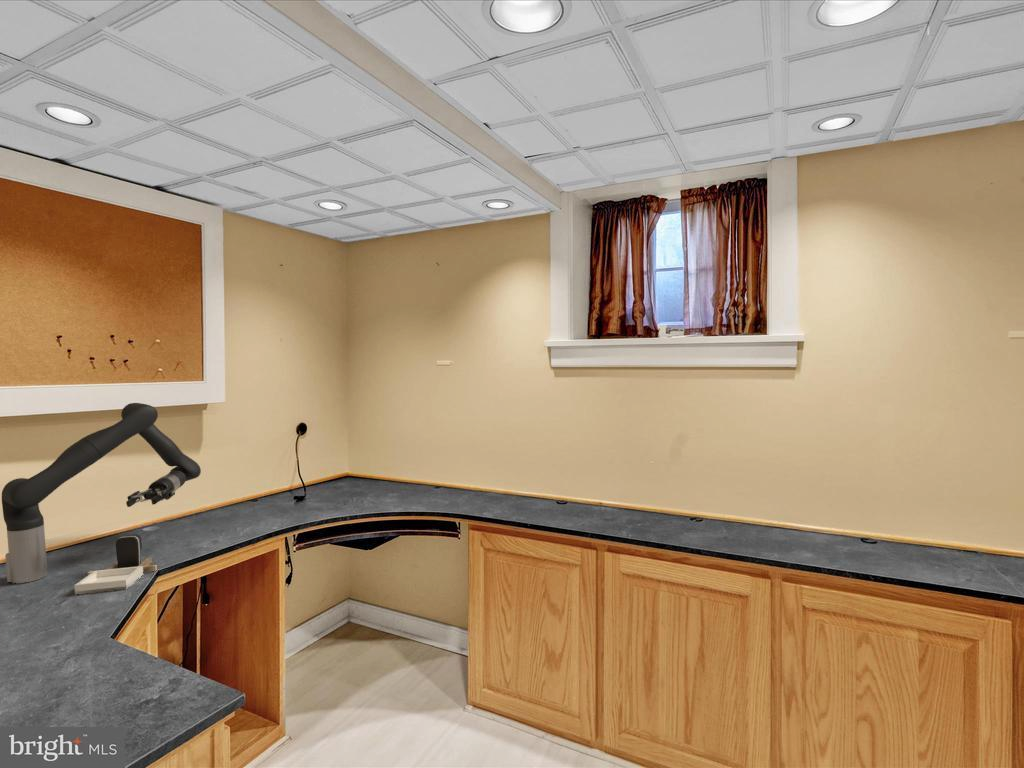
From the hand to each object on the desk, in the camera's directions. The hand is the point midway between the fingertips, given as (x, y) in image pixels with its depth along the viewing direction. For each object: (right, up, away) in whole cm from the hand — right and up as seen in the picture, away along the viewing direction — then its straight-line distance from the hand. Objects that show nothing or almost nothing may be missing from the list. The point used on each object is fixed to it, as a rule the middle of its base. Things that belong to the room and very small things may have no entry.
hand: (140, 503), depth 198 cm
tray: (+5, -21, -21) cm, 31 cm away
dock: (+2, -21, -9) cm, 23 cm away
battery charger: (+2, -21, -8) cm, 22 cm away
